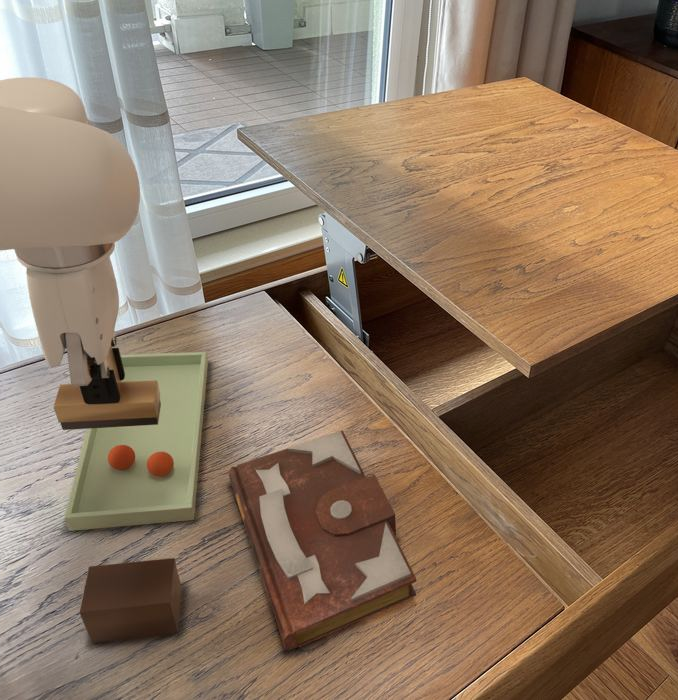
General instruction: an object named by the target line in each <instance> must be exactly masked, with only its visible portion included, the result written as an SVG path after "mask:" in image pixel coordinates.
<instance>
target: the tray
mask: <svg viewBox="0 0 678 700" xmlns="http://www.w3.org/2000/svg"><path fill="white" fill-rule="evenodd" d="M120 356H121V360H122V364H123V368H124V372H125V378H124V380H122V381H120V382H131V381H154V380H157V382H158V387H159V391H160V402H161V408H160V414H159V421H158V425H142V426H125V427H108V428H90V429H85V434H84V438H83V442H82V446H81V450H80V453H79V458H78V462H77V466H76V470H75V473H74V479H73V483H72V486H71V490H70V494H69V498H68V503H67V506H66V509H65V513H64V518H63V519H64V521H65V524H66V527H67V529H68V531H69V532H73V531H84V530H98V529H107V528H117V527H119V528H120V527H130V526H141V525H142V526H143V525H153V524H162V523H163V524H164V523H174V522H175V523H176V522H186V521H187V522H188V521H194V520H195V514H196V504H197V503H196V501H197V491H198V482H199V481H198V480H199V468H200V457H201V447H202V435H203V424H204V413H205V404H206V403H205V402H206V391H207V381H208V379H207V378H208V368H209V361H208V355H207V351H192V352H190V351H189V352H187V351H186V352H163V353H162V352H161V353H135V354H134V353H133V354H131V353H130V354H120ZM118 445H127V446H129V447H131V448H132V449H133V450H134V452H135V461H134V463H133V464H132V465H131V466H130V467H129V468H127V469H124V470H117V469H114V468H113V467H111V466H110V464H109V462H108V454H109V452H110V451H111V449H112V448H114V447H115V446H118ZM156 452H166V453H168V454H170V455H171V456H172V458H173V461H174V466H173V469H172V471H171V472H170V473H169V474H167V475H165V476H162V477H157V476H154V475H152V474H151V473H150V472H149V471H148V469H147V461H148V459H149V457H150V456H151V455H152V454H154V453H156Z"/></svg>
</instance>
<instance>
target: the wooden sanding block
mask: <svg viewBox="0 0 678 700" xmlns="http://www.w3.org/2000/svg"><path fill="white" fill-rule="evenodd" d="M112 348H113V347H112V346H111V345H110V348H109V352H108V355H107V361H108V365H109V370H114V373H115V377H116V381H117V385H118V389H119V393H120V401H119V402H118V403H106V404H86V403H85V402H84V399H83V396H82V393H81V390H80V386H72V385H71V383H66V384H59V386H58V389H57V394H56V397H55V399H54V403H53V410H54V414H55V416H56V419H57V422H58V423H59V424H60V426H61V429H62V431H69V430H70V431H71V430H87V429H90V428H108V427H125V426H142V425H158V421H159V414H160V408H161V402H160V391H159V387H158V382H157V380H154V381H131V382H120V378H119V374H118V370H117V366H116V362H115V358H114V354H113V350H112ZM87 364H88V365H98V364H97V362H96V363H94V359H92V360H87Z"/></svg>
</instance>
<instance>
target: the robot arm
mask: <svg viewBox="0 0 678 700" xmlns="http://www.w3.org/2000/svg"><path fill="white" fill-rule="evenodd" d="M140 202H141V187H140V179H139V175H138V172H137V168H136V165H135V163H134V161H133V159H132V156H131V155H130V153H129V151H128V150H127V148H126V147H125V146H124V145H123V143H122V142H121V141H120V140H119V139H118V138H116V137H115V136H114V135H113V134H111V133H110V132H108V131H106V130H104V129H101V128H99V127H96V126H93V125H91V124H89V120H88V116H87V112H86V108H85V105H84V103H83V101H82V99H81V97H80V96H79V94H78V93H77V92H76V91H75V90H73V89H72V88H71V87H70V86H68V85H66V84H64V83H63V82H62V83H61V82H59V81H58V80H57V81H56V80H53V79H49V78H44V77H25V76H23V77H11V78H6V79H5V78H4V79H0V251H10V250H13V251H14V253H15V256H16V260H17V261H18V262H19V263H20V265H22V266H23V267H25V268H26V273H25V275H26V283H27V290H28V296H29V302H30V307H31V311H32V316H33V319H34V320H33V321H34V323H35V327H36V332H37V334H38V340H39V343H40V346H41V350H42V353H43V356H44V360H45V362H46V364H48V366H49V367H52V368H53V367H60V366H61V364H62V361H63V357H64V355H65V350H66V354H67V363H68V370H69V378H70V384H71V385H72V386H80V390H81V393H82V396H83V399H84V402H85V403H86V404H106V403H118V402H119V401H120V393H119V389H118V385H117V381H116V377H115V373H114V370H109V365H108V361H107V355H108V352H109V348H110V345H111V346H112V350H113V354H114V358H115V362H116V366H117V370H118V374H119V378H120V381H122V380H124V378H125V372H124V368H123V364H122V360H121V356H120V355H121V352H120V348H119V347H117V344H118V340H117V339H118V338H117V334H116V330H115V327H116V323H117V319H118V314H119V309H120V295H119V290H118V284H117V279H116V275H115V271H114V267H113V264H112V259H111V255H112V254H114V251H115V247H116V243H117V242H119V241H120V240H122V239H123V238H124V237H125V236H126V235H127V234H128V233H129V231H130V230H131V228H132V227H133V225H134V223H135V221H136V218H137V216H138V213H139V208H140ZM92 359H94V363H96V362H97V364H98V365H88V364H87V360H92Z"/></svg>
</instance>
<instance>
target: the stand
mask: <svg viewBox="0 0 678 700" xmlns="http://www.w3.org/2000/svg"><path fill="white" fill-rule="evenodd" d="M178 571H179V570H178V567H177V563H176V559H175V557H172V558H161V559H160V558H159V559H151V560H150V559H149V560H141V561H139V560H138V561H130V562H119V563H110V564H100V565H99V564H98V565H90V566H88V568H87V572H86V578H85V581H84V582H85V583H84V587H83V591H82V596H81V602H80V606H79V616H80V618H81V620H82V623H83V625H84V628H85V630H86V632H87V635H88V637H89V639H90V642H91V644H101V643H109V642H116V641H117V642H119V641H126V640H133V639H141V638H142V639H143V638H149V637H150V638H151V637H157V636H167V635H174V634H178V633H179V625H180V614H181V604H182V594H183V589H182V584H181V580H180V575H179V572H178Z"/></svg>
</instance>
